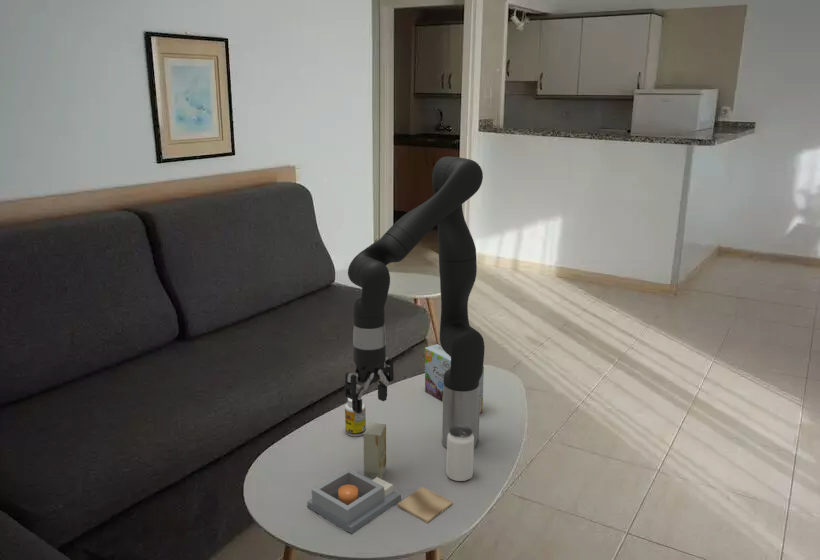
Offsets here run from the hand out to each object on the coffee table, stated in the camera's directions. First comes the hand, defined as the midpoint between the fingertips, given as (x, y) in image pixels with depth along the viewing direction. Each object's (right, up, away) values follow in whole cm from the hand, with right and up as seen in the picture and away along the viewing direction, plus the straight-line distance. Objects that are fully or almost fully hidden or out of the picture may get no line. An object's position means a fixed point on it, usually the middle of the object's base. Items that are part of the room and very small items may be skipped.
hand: (370, 406), depth 158 cm
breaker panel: (-3, -21, -7) cm, 22 cm away
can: (+22, -18, +5) cm, 28 cm away
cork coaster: (+13, -21, -7) cm, 26 cm away
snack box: (+22, -7, +42) cm, 48 cm away
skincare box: (+1, -18, +5) cm, 19 cm away
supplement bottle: (-5, -12, +25) cm, 28 cm away
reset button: (-4, -20, -9) cm, 22 cm away
